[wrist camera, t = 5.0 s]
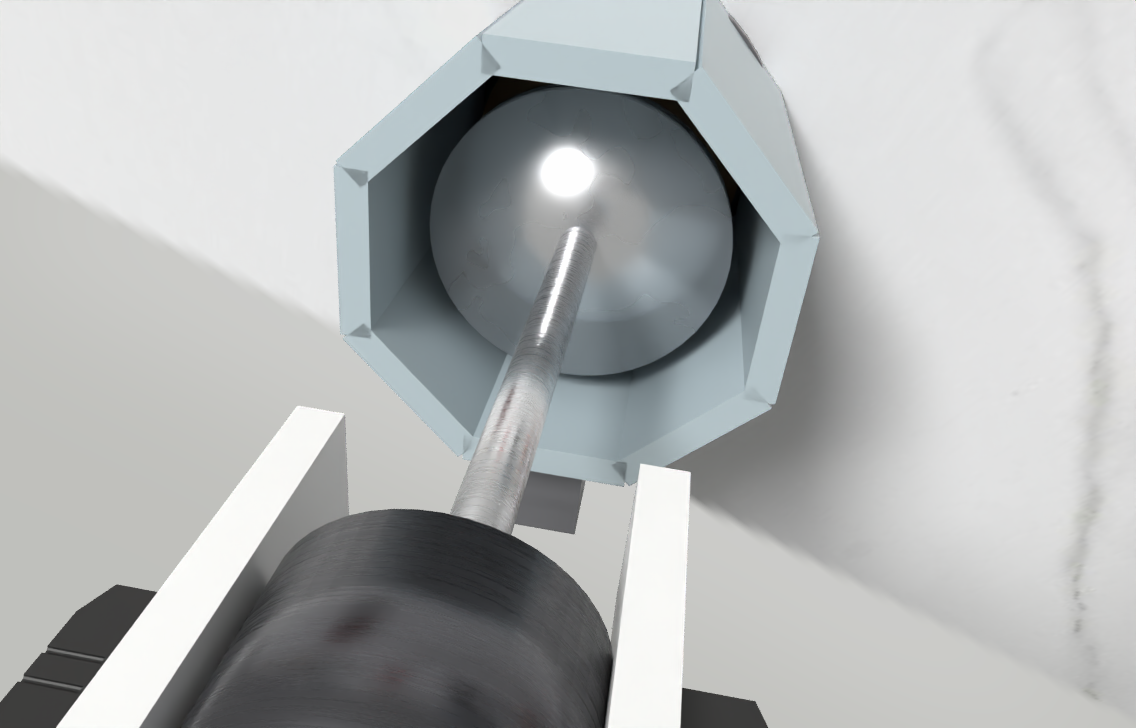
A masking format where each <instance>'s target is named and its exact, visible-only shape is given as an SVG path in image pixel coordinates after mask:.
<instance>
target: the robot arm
mask: <svg viewBox="0 0 1136 728" xmlns="http://www.w3.org/2000/svg"><path fill="white" fill-rule="evenodd" d="M345 429H346V428H345V414H344V413H338V412H332V411H326V410H320V409H314V408H308V407H302V406H297V407H296V408H295V410H294V411H293V412H292V414H291V415H290V416H289V418H288V419H287V420H286V422H285V423H284V424H283V426H282V427H281V428H280V430H279V431H278V432H277V434H276V435H275V436H274V438H273V439H272V440H271V442H270V443H269V444H268V446H267V447H266V448H265V450H264V451H263V452H262V454H261V455H260V456H259V458H258V459H257V460H256V462H255V463H254V464H253V466H252V467H251V468H250V470H249V471H248V472H247V474H246V475H245V476H244V478H243V479H242V480H241V482H240V483H239V484H238V486H237V487H236V488H235V490H234V491H233V492H232V494H231V495H230V496H229V498H228V499H227V500H226V502H225V503H224V504H223V506H222V507H221V508H220V510H219V511H218V512H217V514H216V515H215V516H214V518H213V519H212V520H211V522H210V523H209V524H208V526H207V527H206V528H205V530H204V531H203V532H202V534H201V535H200V536H199V538H198V539H197V540H196V542H195V543H194V544H193V546H192V547H191V548H190V550H189V551H188V552H187V554H186V555H185V556H184V558H183V559H182V560H181V562H180V563H179V564H178V566H177V567H176V568H175V570H174V571H173V572H172V574H171V575H170V576H169V578H168V579H167V580H166V582H165V583H164V584H163V586H162V587H161V588H160V590H159V591H158V592H154V591H149V590H143V589H138V588H133V587H127V586H122V585H115V586H114V587H112V588H111V589H109V590H108V591H106V592H105V593H103V594H102V595H100V596H99V597H97V598H96V599H94V600H93V601H91V602H90V603H88V604H87V605H86V606H84V607H82V608H81V609H79V610H78V611H76V613H75V614H74V615H73V616H72V617H71V619H70V620H69V621H68V622H67V623H66V624H65V626H64V627H63V628H62V629H61V630H60V632H59V633H58V634H57V635H56V636H55V638H54V639H53V640H52V641H51V642H50V644H49V645H48V648H47V651H46V653H41V654H40V656H39V657H38V658H37V659H36V660H35V662H34V663H33V664H32V665H31V666H30V668H29V669H28V670H27V671H26V672H25V673H24V677H23V680H22V681H21V682H17V683H16V684H15V686H14V687H13V688H12V689H11V690H10V691H9V693H8V694H7V695H6V696H5V697H4V698H3V700H2V701H1V702H0V728H180V726H181V724H182V723H183V721H184V719H185V718H186V716H187V715H188V713H189V711H190V710H191V708H192V706H193V705H194V703H195V701H196V700H197V698H198V697H199V695H200V693H201V692H202V690H203V688H204V687H205V685H206V683H207V682H208V680H209V679H210V677H211V675H212V674H213V672H214V670H215V669H216V667H217V665H218V664H219V662H220V660H221V659H222V657H223V656H224V654H225V652H226V651H227V649H228V647H229V646H230V644H231V642H232V641H233V639H234V638H235V636H236V634H237V633H238V631H239V629H240V628H241V626H242V624H243V623H244V621H245V620H246V618H247V616H248V615H249V613H250V611H251V610H252V608H253V606H254V605H255V603H256V601H257V600H258V598H259V597H260V595H261V593H262V592H263V590H264V588H265V587H266V585H267V583H268V582H269V580H270V579H271V577H272V575H273V574H274V572H275V570H276V569H277V567H278V566H279V564H280V562H281V561H282V559H283V558H284V556H285V555H286V554H287V553H288V551H289V550H290V549H291V548H292V547H293V546H294V545H295V544H296V543H297V542H298V541H300V540H301V539H302V538H304V537H305V536H306V535H308V534H309V533H310V532H312V531H314V530H316V529H317V528H319V527H321V526H323V525H325V524H327V523H329V522H332V521H335V520H337V519H340V518H343V517H346V516H349V508H348V507H349V506H348V480H347V454H346V430H345ZM690 479H691V472H688V471H682V470H676V469H670V468H664V467H658V466H652V465H646V464H640V469H639V474H638V480H637V486H636V491H635V497H634V502H633V508H632V514H631V519H630V525H629V530H628V536H627V541H626V547H625V553H624V558H623V564H622V569H621V575H620V580H619V587H618V592H617V598H616V599H617V600H616V606H615V613H614V621H613V628H612V636H611V646H612V654H613V663H612V671H611V678H610V686H609V694H608V702H607V710H606V718H605V726H604V728H768V727H767V725H766V722H765V720H764V719H763V716H762V714H761V712H760V710H759V708H758V706H757V704H756V702H755V701H750V700H745V699H739V698H734V697H728V696H723V695H718V694H712V693H707V692H702V691H696V690H691V689H686V688H682V674H683V673H682V672H683V650H684V626H685V599H686V577H687V575H686V574H687V552H688V528H689V526H688V525H689V503H690Z"/></svg>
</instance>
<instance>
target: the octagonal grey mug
mask: <svg viewBox="0 0 1136 728" xmlns="http://www.w3.org/2000/svg"><path fill="white" fill-rule="evenodd" d="M550 84H560V85H568V86H575V87H582V88H589V89H597V90H604V91H611V92H618V93H626V94H633V95H640V96H644V97H646V98H648V99H650V100H652V101H654V102H656V103H658V104H660V105H661V106H663V107H664V108H665V109H667V110H668V111H670V112H671V113H673V114H674V115H676V116H677V117H678V118H679V119H680V120H681V121H682V122H683V123H685V124H686V125H687V126H688V127H689V128H690V129H691V130H692V131H693V132H694V133H695V134H696V136H697V137H698V138H699V139H700V140H701V142H702V143H703V144H704V145H705V147H706V148H707V150H708V151H709V153H710V155H711V156H712V158H713V159H714V161H715V163H716V165H717V167H718V169H719V171H720V173H721V176H722V178H723V180H724V183H725V187H726V190H727V193H728V197H729V201H730V208H731V215H732V228H733V250H732V257H731V264H730V270H729V273H728V277H727V280H726V283H725V286H724V289H723V291H722V293H721V295H720V298H719V300H718V302H717V304H716V305H715V307H714V309H713V310H712V312H711V313H710V315H709V316H708V318H707V319H706V320H705V322H704V323H703V324H702V325H701V326H700V328H699V329H698V330H697V331H696V332H695V333H694V334H693V335H692V336H691V337H690V338H689V339H687V340H686V341H685V342H684V343H683V344H682V345H680V346H679V347H677V348H676V349H675V350H673V351H672V352H670V353H669V354H667V355H665V356H663V357H662V358H660V359H658V360H656V361H654V362H652V363H649V364H647V365H644V366H641V367H639V368H636V369H632V370H628V371H624V372H620V373H615V374H607V375H583V376H581V375H572V374H563V373H559V376H558V380H557V383H556V386H555V390H554V393H553V397H552V400H551V403H550V407H549V410H548V413H547V417H546V420H545V423H544V427H543V430H542V433H541V437H540V440H539V443H538V447H537V450H536V453H535V457H534V460H533V464H532V467H531V470H530V474H529V477H528V480H527V484H526V487H525V490H524V494H523V497H522V500H521V504H520V507H519V510H518V514H517V517H516V520H515V524H518V525H524V526H530V527H535V528H541V529H547V530H553V531H558V532H564V533H570V534H575V529H576V524H577V519H578V514H579V509H580V505H581V500H582V495H583V490H584V485H585V481H586V480H587V481H593V482H599V483H604V484H610V485H616V486H622V487H624V482H626V483H627V484H628V485H629V486H630V485H632V484H634V483H636V482H637V480H638V474H639V469H640V464H646V465H652V466H658V467H665V466H667V465H669V464H671V463H672V462H674V461H676V460H678V459H680V458H682V457H684V456H685V455H687V454H689V453H691V452H693V451H695V450H696V449H698V448H700V447H702V446H704V445H706V444H708V443H709V442H711V441H713V440H715V439H717V438H719V437H720V436H722V435H724V434H726V433H728V432H730V431H732V430H733V429H735V428H737V427H739V426H741V425H743V424H744V423H746V422H748V421H750V420H752V419H754V418H756V417H757V416H759V415H761V414H763V413H765V412H767V411H768V410H770V409H772V406H771V404H776V400H777V396H778V392H779V389H780V385H781V381H782V377H783V374H784V370H785V366H786V363H787V359H788V355H789V351H790V348H791V344H792V340H793V336H794V333H795V329H796V325H797V321H798V318H799V314H800V310H801V306H802V303H803V299H804V295H805V292H806V288H807V284H808V280H809V277H810V273H811V269H812V265H813V262H814V258H815V254H816V250H817V247H818V243H819V239H820V237H819V233H818V232H819V231H818V227H817V223H816V220H815V216H814V212H813V209H812V205H811V201H810V197H809V194H808V190H807V186H806V182H805V179H804V175H803V171H802V167H801V164H800V160H799V156H798V152H797V149H796V145H795V141H794V137H793V134H792V130H791V126H790V122H789V119H788V115H787V111H786V107H785V104H784V100H783V96H782V92H781V90H780V89H779V87H778V86H777V84H776V83H775V81H774V80H773V78H772V77H771V75H770V74H769V72H768V71H767V69H766V68H765V66H764V65H763V63H762V62H761V59H760V57H759V55H758V53H757V51H756V49H755V48H754V46H753V44H752V43H751V41H750V39H749V37H748V36H747V34H746V33H745V32H744V31H743V29H742V28H741V27H740V25H739V24H738V23H737V22H736V20H735V19H734V18H733V17H732V16H731V15H730V14H729V13H728V12H727V10H726V9H725V7H724V6H723V4H722V3H721V1H720V0H521V1H520V2H519V3H517V4H516V5H515V6H513V7H512V8H511V9H510V10H508V11H507V12H506V13H504V14H503V15H502V16H501V17H499V18H498V19H497V20H496V21H494V22H493V23H492V24H490V25H489V26H488V27H487V28H485V29H484V30H483V31H481V32H480V33H479V34H478V35H476V36H475V37H474V38H473V39H472V40H471V41H470V42H468V43H467V44H466V45H465V46H464V47H463V48H462V49H461V50H459V51H458V52H457V53H456V54H455V55H454V56H453V57H452V58H451V59H449V60H448V61H447V62H446V63H445V64H444V65H443V66H442V67H440V68H439V69H438V70H437V71H436V72H435V73H434V74H433V75H431V76H430V77H429V78H428V79H427V80H426V81H425V82H424V83H422V84H421V85H420V86H419V87H418V88H417V89H416V90H415V91H414V92H412V93H411V94H410V95H409V96H408V97H407V98H406V99H405V100H403V101H402V102H401V103H400V104H399V105H398V106H397V107H396V108H394V109H393V110H392V111H391V112H390V113H389V114H388V115H387V116H385V117H384V118H383V119H382V120H381V121H380V122H379V123H378V124H377V125H375V126H374V127H373V128H372V129H371V130H370V131H369V132H368V133H366V134H365V135H364V136H363V137H362V138H361V139H360V140H359V141H357V142H356V143H355V144H354V145H353V146H352V147H351V148H350V149H348V150H347V151H346V152H345V153H344V154H343V155H342V156H341V157H339V158H338V159H337V160H336V162H337V164H336V165H334V187H335V212H336V237H337V262H338V287H339V312H340V334H344V335H345V336H344V338H343V340H344V341H345V342H346V343H347V344H348V345H349V346H350V347H351V348H352V349H353V350H354V351H355V352H356V353H357V354H358V355H359V356H360V357H361V358H362V359H363V360H364V361H365V362H366V363H367V364H368V365H369V366H370V367H371V368H372V369H373V370H374V371H375V373H377V374H378V376H379V377H380V378H381V379H382V380H383V381H384V382H385V383H386V384H387V385H388V386H389V387H390V388H391V389H392V390H393V391H394V392H395V393H396V394H397V395H398V396H399V397H400V398H401V399H402V400H403V401H404V402H405V403H406V404H407V405H408V406H409V407H410V408H411V409H412V410H413V411H414V412H415V413H416V414H417V415H418V416H419V417H420V418H421V420H422V421H424V423H425V424H427V426H428V427H429V428H431V430H432V431H433V432H434V433H435V434H436V435H437V436H438V437H439V438H440V439H441V440H442V441H443V442H444V443H445V444H446V445H447V446H448V447H449V448H450V449H451V450H452V451H453V452H454V453H455V454H456V455H457V456H460V455H462V454H463V459H464V460H470V461H471V459H472V457H473V454H474V452H475V449H476V447H477V444H478V442H479V439H480V437H481V434H482V432H483V429H484V427H485V424H486V422H487V419H488V417H489V414H490V412H491V409H492V407H493V404H494V402H495V399H496V397H497V394H498V392H499V389H500V387H501V384H502V382H503V379H504V377H505V374H506V372H507V369H508V367H509V364H510V362H511V359H512V356H511V355H509V354H507V353H506V352H504V351H502V350H501V349H499V348H498V347H496V346H495V345H493V344H492V343H491V342H489V341H488V340H487V339H486V338H484V337H483V336H482V335H481V334H480V333H479V332H478V331H477V330H476V329H475V328H474V327H473V326H472V325H470V324H469V323H468V321H467V320H466V319H465V318H464V316H463V315H462V314H461V313H460V311H459V310H458V309H457V308H456V306H455V304H454V303H453V301H452V300H451V298H450V296H449V295H448V293H447V291H446V289H445V287H444V285H443V283H442V281H441V278H440V276H439V273H438V270H437V267H436V264H435V261H434V257H433V252H432V246H431V241H430V212H431V203H432V199H433V194H434V190H435V186H436V183H437V181H438V178H439V175H440V173H441V170H442V168H443V166H444V164H445V163H446V161H447V159H448V157H449V156H450V154H451V152H452V151H453V149H454V148H455V147H456V146H457V144H458V143H459V142H460V140H461V139H462V138H463V136H464V135H465V134H466V133H467V132H468V131H469V130H470V128H471V127H472V126H474V125H475V124H476V123H477V122H478V121H479V120H480V119H481V118H482V117H483V116H484V115H485V114H486V113H488V112H489V111H490V110H492V109H493V108H495V107H496V106H497V105H499V104H500V103H502V102H504V101H506V100H508V99H510V98H511V97H513V96H515V95H517V94H520V93H522V92H525V91H528V90H531V89H534V88H536V87H541V86H545V85H550Z"/></svg>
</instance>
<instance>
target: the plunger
mask: <svg viewBox="0 0 1136 728" xmlns="http://www.w3.org/2000/svg"><path fill="white" fill-rule="evenodd" d="M430 241H431V246H432V252H433V257H434V261H435V264H436V267H437V270H438V273H439V276H440V278H441V281H442V283H443V285H444V287H445V289H446V291H447V293H448V295H449V296H450V298H451V300H452V301H453V303H454V304H455V306H456V308H457V309H458V310H459V311H460V313H461V314H462V315H463V316H464V318H465V319H466V320H467V321H468V323H469V324H470V325H472V326H473V327H474V328H475V329H476V330H477V331H478V332H479V333H480V334H481V335H482V336H483V337H484V338H486V339H487V340H488V341H489V342H491V343H492V344H493V345H495V346H496V347H498V348H499V349H501V350H502V351H504V352H506V353H507V354H509V355H511V356H512V359H511V362H510V364H509V367H508V369H507V372H506V374H505V377H504V379H503V382H502V384H501V387H500V389H499V392H498V394H497V397H496V399H495V402H494V404H493V407H492V409H491V412H490V414H489V417H488V419H487V422H486V424H485V427H484V429H483V432H482V434H481V437H480V439H479V442H478V444H477V447H476V449H475V452H474V454H473V457H472V459H471V462H470V464H469V467H468V470H467V472H466V474H465V477H464V479H463V482H462V484H461V487H460V489H459V492H458V494H457V497H456V499H455V502H454V504H453V507H452V509H451V512H450V514H445V513H440V512H433V511H424V510H414V509H413V510H412V509H408V510H407V509H388V510H378V511H369V512H364V513H359V514H354V515H349V516H346V517H343V518H340V519H337V520H335V521H332V522H329V523H327V524H325V525H323V526H321V527H319V528H317V529H316V530H314V531H312V532H310V533H309V534H308V535H306V536H305V537H304V538H302V539H301V540H300V541H298V542H297V543H296V544H295V545H294V546H293V547H292V548H291V549H290V550H289V551H288V553H287V554H286V555H285V556H284V558H283V559H282V561H281V562H280V564H279V566H278V567H277V569H276V570H275V572H274V574H273V575H272V577H271V579H270V580H269V582H268V583H267V585H266V587H265V588H264V590H263V592H262V593H261V595H260V597H259V598H258V600H257V601H256V603H255V605H254V606H253V608H252V610H251V611H250V613H249V615H248V616H247V618H246V620H245V621H244V623H243V624H242V626H241V628H240V629H239V631H238V633H237V634H236V636H235V638H234V639H233V641H232V642H231V644H230V646H229V647H228V649H227V651H226V652H225V654H224V656H223V657H222V659H221V660H220V662H219V664H218V665H217V667H216V669H215V670H214V672H213V674H212V675H211V677H210V679H209V680H208V682H207V683H206V685H205V687H204V688H203V690H202V692H201V693H200V695H199V697H198V698H197V700H196V701H195V703H194V705H193V706H192V708H191V710H190V711H189V713H188V715H187V716H186V718H185V719H184V721H183V723H182V724H181V726H180V728H604V726H605V718H606V710H607V702H608V694H609V686H610V678H611V671H612V663H613V654H612V646H611V643H610V639H609V636H608V632H607V629H606V627H605V625H604V623H603V621H602V618H601V616H600V614H599V612H598V611H597V609H596V608H595V606H594V605H593V603H592V602H591V600H590V598H589V597H588V596H587V594H586V593H585V592H584V591H583V590H582V589H581V587H580V586H579V585H578V584H577V583H576V582H575V581H574V579H573V578H571V577H570V576H569V575H568V574H567V573H566V572H565V571H564V570H563V569H562V568H561V567H559V566H558V565H557V564H556V563H555V562H553V561H552V560H550V559H549V558H548V557H546V556H545V555H543V554H542V553H541V552H539V551H538V550H537V549H535V548H533V547H532V546H530V545H528V544H526V543H524V542H523V541H521V540H519V539H517V538H516V537H514V536H512V535H511V534H512V531H513V527H514V524H515V520H516V517H517V514H518V510H519V507H520V504H521V500H522V497H523V494H524V490H525V487H526V484H527V480H528V477H529V474H530V470H531V467H532V464H533V460H534V457H535V453H536V450H537V447H538V443H539V440H540V437H541V433H542V430H543V427H544V423H545V420H546V417H547V413H548V410H549V407H550V403H551V400H552V397H553V393H554V390H555V386H556V383H557V380H558V376H559V373H563V374H572V375H581V376H583V375H607V374H615V373H620V372H624V371H628V370H632V369H636V368H639V367H641V366H644V365H647V364H649V363H652V362H654V361H656V360H658V359H660V358H662V357H663V356H665V355H667V354H669V353H670V352H672V351H673V350H675V349H676V348H677V347H679V346H680V345H682V344H683V343H684V342H685V341H686V340H687V339H689V338H690V337H691V336H692V335H693V334H694V333H695V332H696V331H697V330H698V329H699V328H700V326H701V325H702V324H703V323H704V322H705V320H706V319H707V318H708V316H709V315H710V313H711V312H712V310H713V309H714V307H715V305H716V304H717V302H718V300H719V298H720V295H721V293H722V291H723V289H724V286H725V283H726V280H727V277H728V273H729V270H730V264H731V257H732V250H733V228H732V215H731V208H730V201H729V197H728V193H727V190H726V187H725V183H724V180H723V178H722V176H721V173H720V171H719V169H718V167H717V165H716V163H715V161H714V159H713V158H712V156H711V155H710V153H709V151H708V150H707V148H706V147H705V145H704V144H703V143H702V142H701V140H700V139H699V138H698V137H697V136H696V134H695V133H694V132H693V131H692V130H691V129H690V128H689V127H688V126H687V125H686V124H685V123H683V122H682V121H681V120H680V119H679V118H678V117H677V116H676V115H674V114H673V113H671V112H670V111H668V110H667V109H665V108H664V107H663V106H661V105H660V104H658V103H656V102H654V101H652V100H650V99H648V98H646V97H644V96H640V95H633V94H626V93H618V92H611V91H604V90H597V89H589V88H582V87H575V86H568V85H560V84H550V85H545V86H541V87H536V88H534V89H531V90H528V91H525V92H522V93H520V94H517V95H515V96H513V97H511V98H510V99H508V100H506V101H504V102H502V103H500V104H499V105H497V106H496V107H495V108H493V109H492V110H490V111H489V112H488V113H486V114H485V115H484V116H483V117H482V118H481V119H480V120H479V121H478V122H477V123H476V124H475V125H474V126H472V127H471V128H470V130H469V131H468V132H467V133H466V134H465V135H464V136H463V138H462V139H461V140H460V142H459V143H458V144H457V146H456V147H455V148H454V149H453V151H452V152H451V154H450V156H449V157H448V159H447V161H446V163H445V164H444V166H443V168H442V170H441V173H440V175H439V178H438V181H437V183H436V186H435V190H434V194H433V199H432V203H431V212H430Z"/></svg>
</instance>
